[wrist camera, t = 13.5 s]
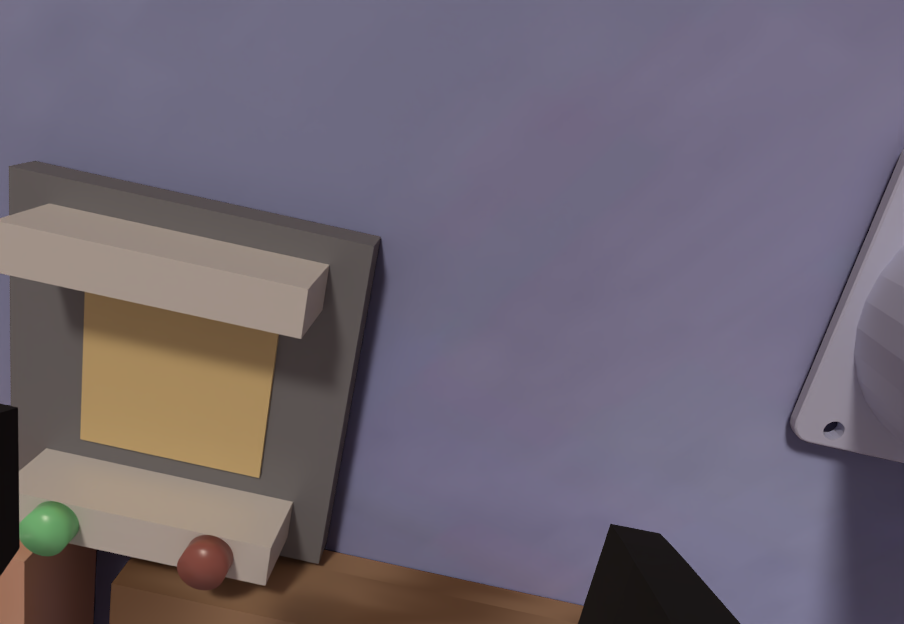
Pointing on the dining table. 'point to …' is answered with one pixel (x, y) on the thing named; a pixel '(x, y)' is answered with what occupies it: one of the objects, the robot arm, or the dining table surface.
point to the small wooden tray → (49, 587)
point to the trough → (326, 597)
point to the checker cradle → (178, 372)
